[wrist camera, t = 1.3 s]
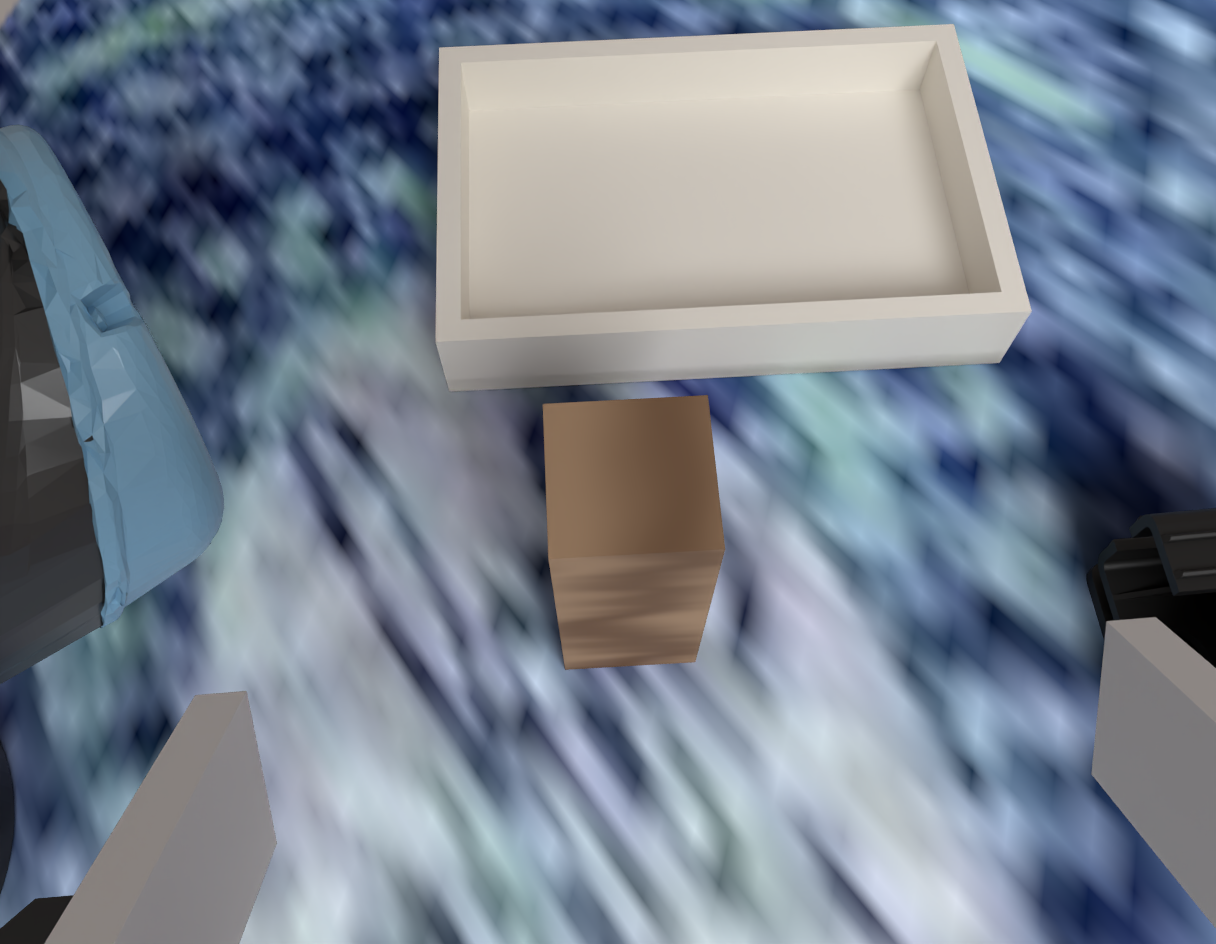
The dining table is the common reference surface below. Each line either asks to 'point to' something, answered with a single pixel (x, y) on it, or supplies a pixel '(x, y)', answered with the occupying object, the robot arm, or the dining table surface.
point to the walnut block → (632, 528)
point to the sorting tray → (716, 209)
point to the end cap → (1162, 576)
